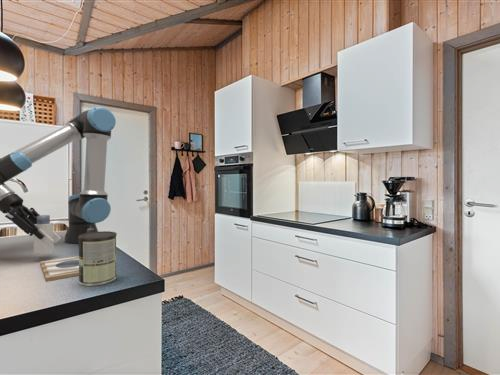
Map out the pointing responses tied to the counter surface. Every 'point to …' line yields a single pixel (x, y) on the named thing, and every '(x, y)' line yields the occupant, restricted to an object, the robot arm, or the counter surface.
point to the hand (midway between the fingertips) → (54, 242)
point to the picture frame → (60, 268)
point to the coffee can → (97, 258)
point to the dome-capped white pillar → (47, 228)
